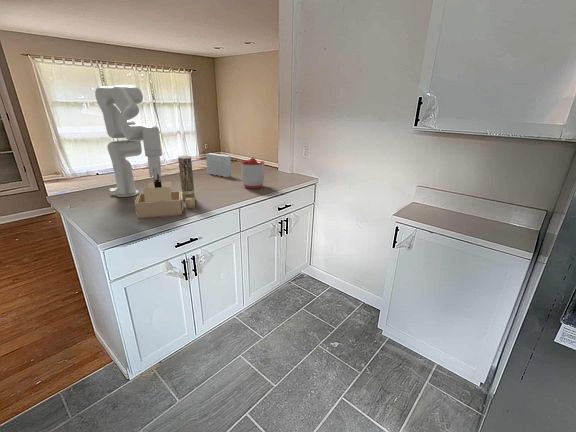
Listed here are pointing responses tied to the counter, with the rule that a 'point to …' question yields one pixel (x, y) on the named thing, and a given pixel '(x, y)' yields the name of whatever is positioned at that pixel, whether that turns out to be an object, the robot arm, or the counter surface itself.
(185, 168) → the paper tube
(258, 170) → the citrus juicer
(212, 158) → the skincare box
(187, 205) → the white-capped tan cylinder
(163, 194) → the near flap
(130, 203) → the counter surface
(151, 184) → the far flap
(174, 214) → the carton
